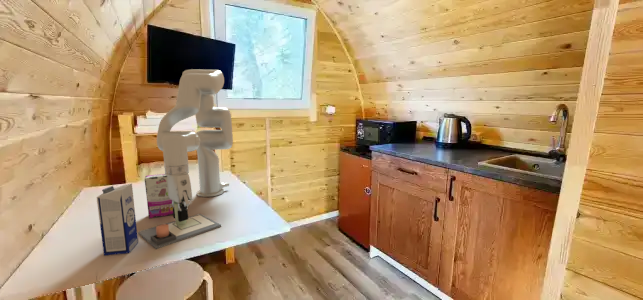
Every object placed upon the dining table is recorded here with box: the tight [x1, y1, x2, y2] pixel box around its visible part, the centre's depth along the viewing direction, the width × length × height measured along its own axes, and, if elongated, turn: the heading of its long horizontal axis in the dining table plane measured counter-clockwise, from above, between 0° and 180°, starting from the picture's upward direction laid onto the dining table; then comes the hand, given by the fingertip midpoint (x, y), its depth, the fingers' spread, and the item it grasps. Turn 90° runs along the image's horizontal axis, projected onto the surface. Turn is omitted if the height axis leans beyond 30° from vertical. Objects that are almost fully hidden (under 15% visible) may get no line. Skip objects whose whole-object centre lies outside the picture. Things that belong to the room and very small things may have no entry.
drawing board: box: [137, 213, 222, 250], centre depth 103 cm, size 22×16×2 cm
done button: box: [155, 223, 169, 238], centre depth 94 cm, size 4×4×3 cm
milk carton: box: [96, 183, 139, 256], centre depth 88 cm, size 7×7×20 cm
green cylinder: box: [173, 200, 187, 225], centre depth 104 cm, size 4×4×10 cm
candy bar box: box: [144, 173, 173, 219], centre depth 116 cm, size 11×5×16 cm, turn 117°
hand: (180, 218), depth 105 cm, fingers closed on green cylinder, 3 cm apart
